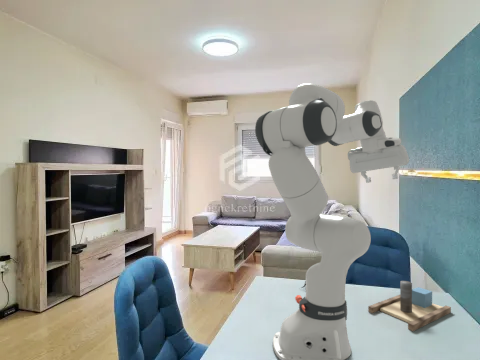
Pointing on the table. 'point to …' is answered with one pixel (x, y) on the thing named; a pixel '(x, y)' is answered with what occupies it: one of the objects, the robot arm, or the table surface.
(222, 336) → the table surface
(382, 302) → the track
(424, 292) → the cube
